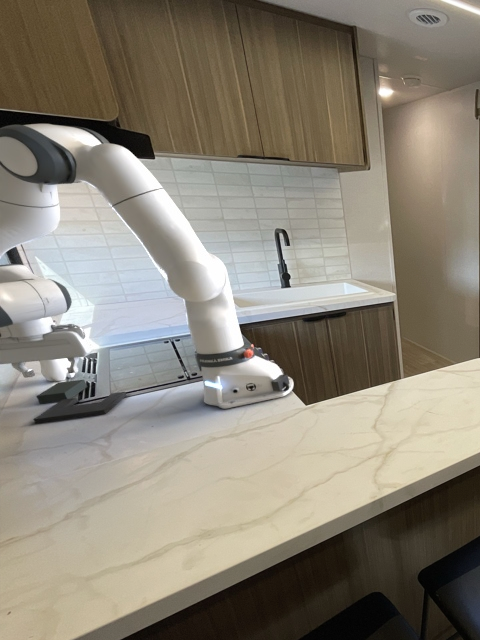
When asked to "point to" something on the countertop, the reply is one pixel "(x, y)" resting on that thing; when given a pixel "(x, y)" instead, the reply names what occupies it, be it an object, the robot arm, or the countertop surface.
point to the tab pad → (62, 391)
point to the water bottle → (55, 369)
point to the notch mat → (79, 408)
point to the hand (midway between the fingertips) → (52, 374)
